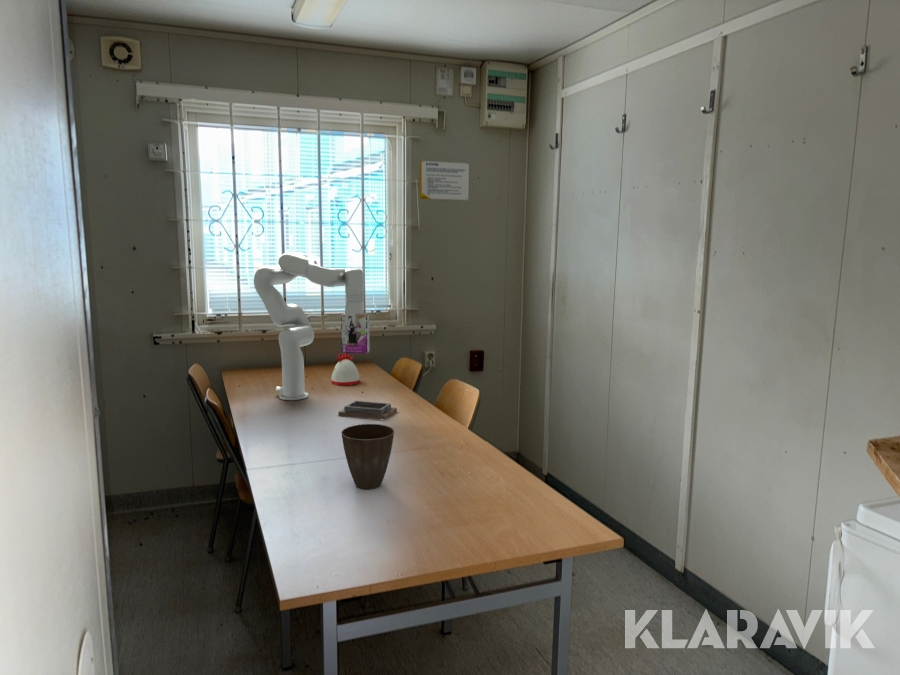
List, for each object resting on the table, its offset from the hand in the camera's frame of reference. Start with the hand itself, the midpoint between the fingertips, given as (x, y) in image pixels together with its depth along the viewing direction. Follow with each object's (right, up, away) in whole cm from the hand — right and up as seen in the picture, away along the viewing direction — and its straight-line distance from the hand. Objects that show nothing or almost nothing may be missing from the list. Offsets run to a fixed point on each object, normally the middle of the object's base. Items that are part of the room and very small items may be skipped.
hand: (355, 341), depth 259 cm
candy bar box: (0, -5, +1) cm, 5 cm away
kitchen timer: (-12, -21, +47) cm, 53 cm away
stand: (+6, -29, -7) cm, 31 cm away
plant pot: (+16, -41, -80) cm, 91 cm away
